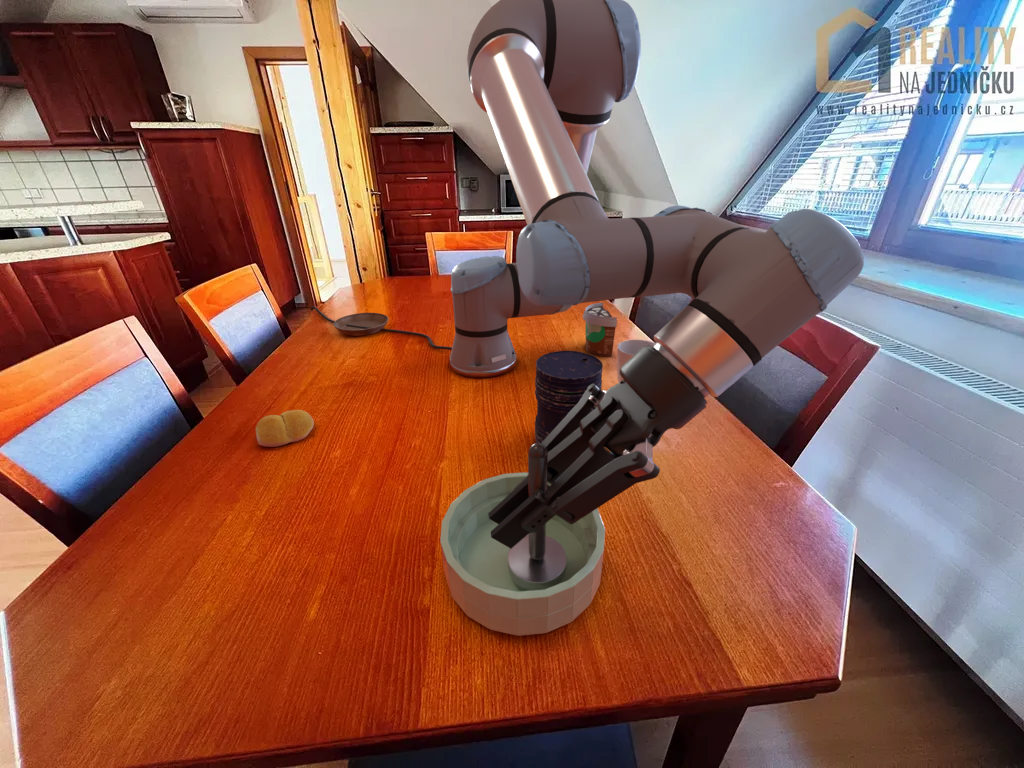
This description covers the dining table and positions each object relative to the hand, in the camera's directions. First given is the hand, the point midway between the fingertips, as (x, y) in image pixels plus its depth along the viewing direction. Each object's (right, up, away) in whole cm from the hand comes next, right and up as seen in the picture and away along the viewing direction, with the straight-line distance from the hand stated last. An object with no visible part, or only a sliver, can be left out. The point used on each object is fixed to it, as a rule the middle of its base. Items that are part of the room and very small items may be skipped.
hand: (499, 530), depth 43 cm
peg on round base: (+4, -5, +3) cm, 7 cm away
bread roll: (-38, +6, +30) cm, 49 cm away
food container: (+21, +23, +61) cm, 69 cm away
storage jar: (+10, +4, +25) cm, 28 cm away
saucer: (-41, +30, +77) cm, 92 cm away
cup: (+25, +13, +40) cm, 49 cm away
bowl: (+2, -6, +6) cm, 8 cm away
